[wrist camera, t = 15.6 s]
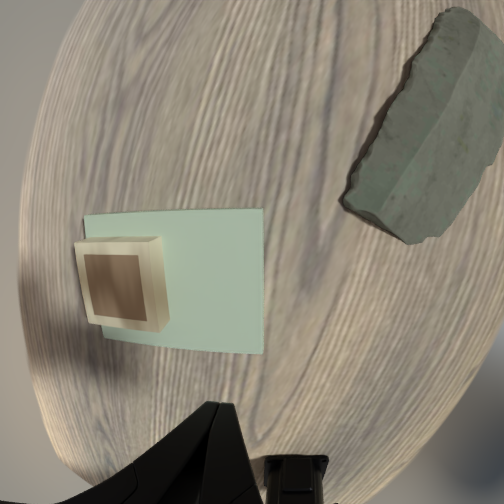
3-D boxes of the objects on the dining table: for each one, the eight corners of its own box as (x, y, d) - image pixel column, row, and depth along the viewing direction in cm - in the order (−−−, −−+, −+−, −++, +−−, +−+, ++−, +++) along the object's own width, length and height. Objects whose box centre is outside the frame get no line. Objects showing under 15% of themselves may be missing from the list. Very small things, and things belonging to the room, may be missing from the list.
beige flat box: (159, 333, 18) (88, 323, 18) (170, 319, 20) (102, 312, 20) (148, 242, 16) (73, 242, 17) (161, 235, 18) (90, 237, 19)
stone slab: (512, 77, 14) (443, 0, 12) (530, 75, 12) (459, -10, 10) (419, 267, 20) (324, 192, 18) (438, 280, 17) (336, 197, 16)
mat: (263, 346, 20) (262, 354, 20) (109, 332, 22) (104, 337, 21) (263, 207, 18) (262, 208, 17) (91, 214, 19) (83, 215, 18)
